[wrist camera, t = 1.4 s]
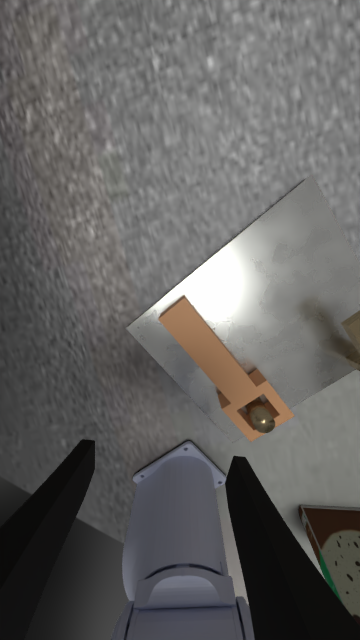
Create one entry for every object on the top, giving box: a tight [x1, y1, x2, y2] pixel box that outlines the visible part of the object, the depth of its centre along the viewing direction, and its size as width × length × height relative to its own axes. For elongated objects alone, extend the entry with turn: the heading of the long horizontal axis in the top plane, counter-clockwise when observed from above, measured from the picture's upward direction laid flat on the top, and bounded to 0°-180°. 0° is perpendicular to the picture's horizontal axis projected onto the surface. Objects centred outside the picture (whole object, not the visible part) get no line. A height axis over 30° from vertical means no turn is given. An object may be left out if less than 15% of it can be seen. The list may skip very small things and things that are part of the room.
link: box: [158, 295, 294, 442], centre depth 17 cm, size 16×5×2 cm, turn 39°
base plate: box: [126, 175, 360, 443], centre depth 16 cm, size 20×18×4 cm
